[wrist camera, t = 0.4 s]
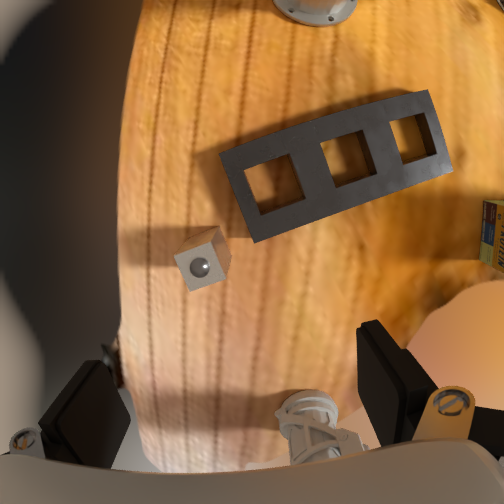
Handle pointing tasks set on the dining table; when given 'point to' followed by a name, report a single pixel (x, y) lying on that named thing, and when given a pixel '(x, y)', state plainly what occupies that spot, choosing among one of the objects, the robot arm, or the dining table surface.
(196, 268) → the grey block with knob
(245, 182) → the rail
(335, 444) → the grey statue
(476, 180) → the dining table surface
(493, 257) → the protein box
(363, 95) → the dining table surface
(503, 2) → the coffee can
